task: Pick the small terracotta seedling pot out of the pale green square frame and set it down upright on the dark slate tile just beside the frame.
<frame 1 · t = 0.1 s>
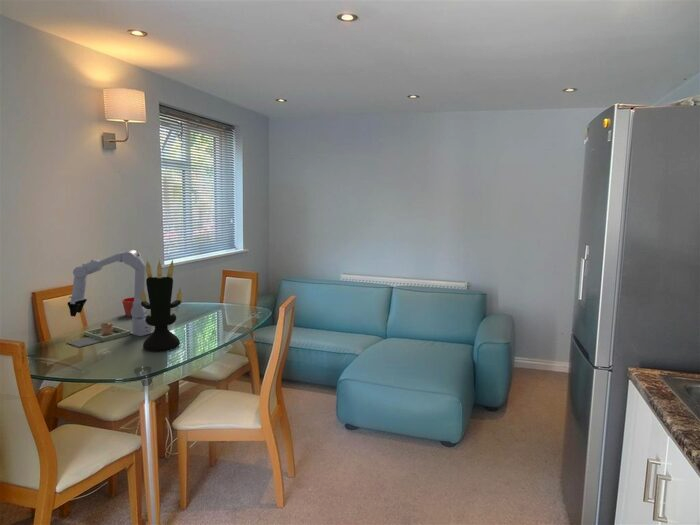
hand: (75, 314, 250), 10 cm above the table, tool pointing down, fingers open, 7 cm apart
flower pot: (132, 315, 291), on the table
candelabra: (162, 348, 234), on the table
seedling pot: (107, 335, 251), resting in pale green square frame
slate tile: (84, 342, 238), on the table
pale green square frame: (107, 334, 251), on the table
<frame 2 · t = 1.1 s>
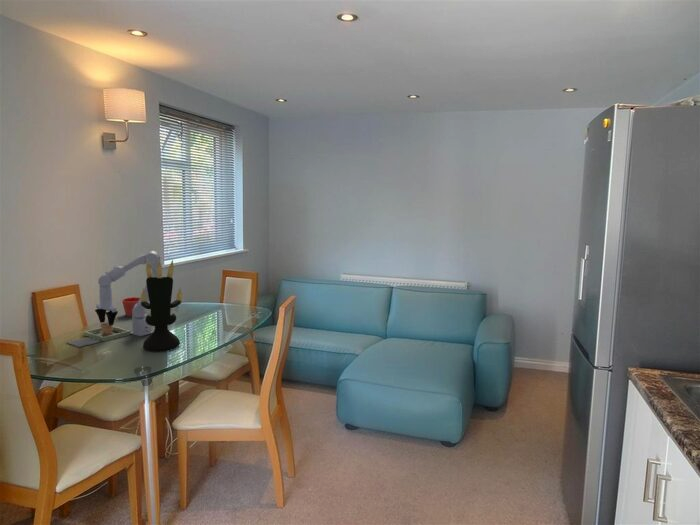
hand: (106, 323, 251), 6 cm above the table, tool pointing down, fingers open, 7 cm apart
nothing on the table moved.
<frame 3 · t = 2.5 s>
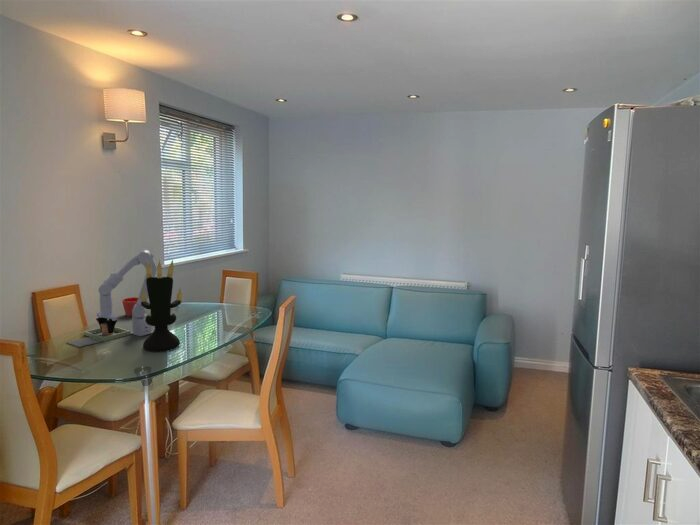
hand: (107, 331, 251), 2 cm above the table, tool pointing down, fingers closed on seedling pot, 6 cm apart
seedling pot: (107, 334, 251), resting in pale green square frame, touching gripper
everything else where it was.
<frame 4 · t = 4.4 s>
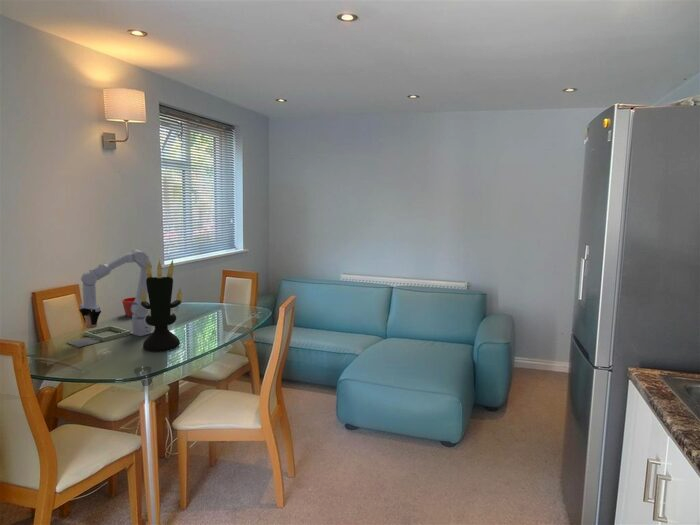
hand: (90, 323, 241), 9 cm above the table, tool pointing down, fingers closed on seedling pot, 6 cm apart
seedling pot: (91, 326, 242), point 7 cm above the table, touching gripper
everything else where it was.
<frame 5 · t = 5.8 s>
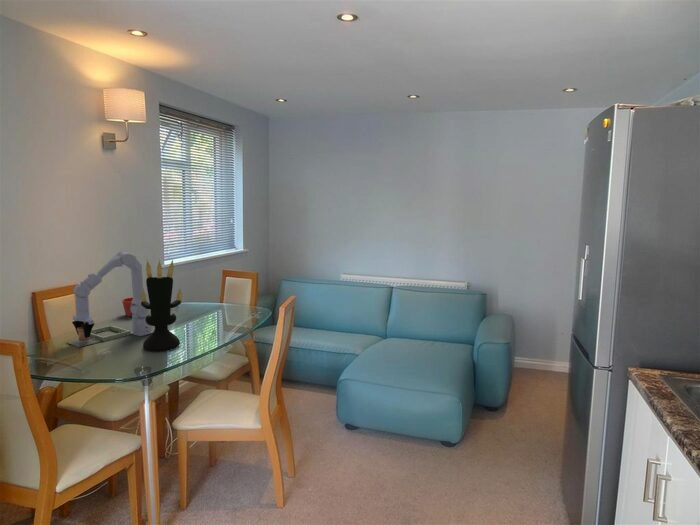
hand: (83, 336, 238), 3 cm above the table, tool pointing down, fingers closed on seedling pot, 6 cm apart
seedling pot: (84, 339, 238), point 2 cm above the table, touching gripper
everything else where it was.
when the fingers open (3 cm above the table, at t = 6.7 s): seedling pot drops 1 cm, resting on slate tile.
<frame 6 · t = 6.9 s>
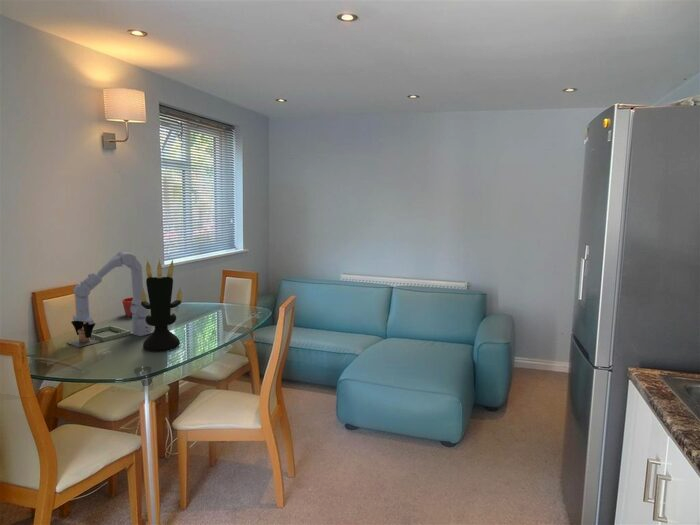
hand: (83, 336, 238), 3 cm above the table, tool pointing down, fingers open, 7 cm apart
seedling pot: (84, 341, 238), point 1 cm above the table, touching slate tile
everything else where it was.
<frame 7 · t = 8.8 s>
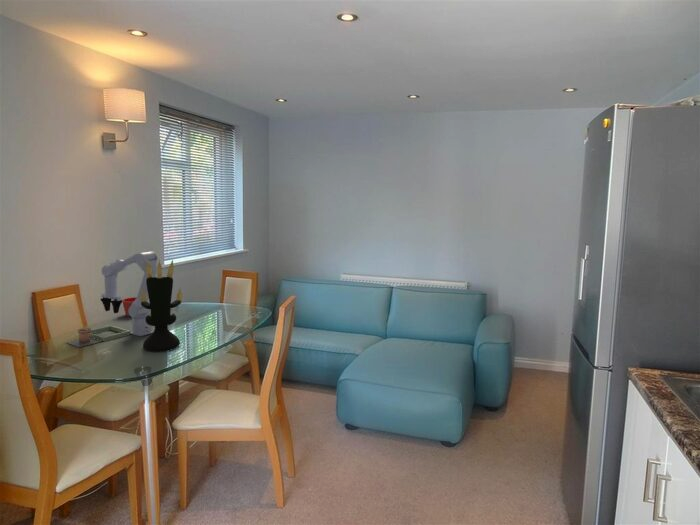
hand: (111, 311, 261), 9 cm above the table, tool pointing down, fingers open, 7 cm apart
nothing on the table moved.
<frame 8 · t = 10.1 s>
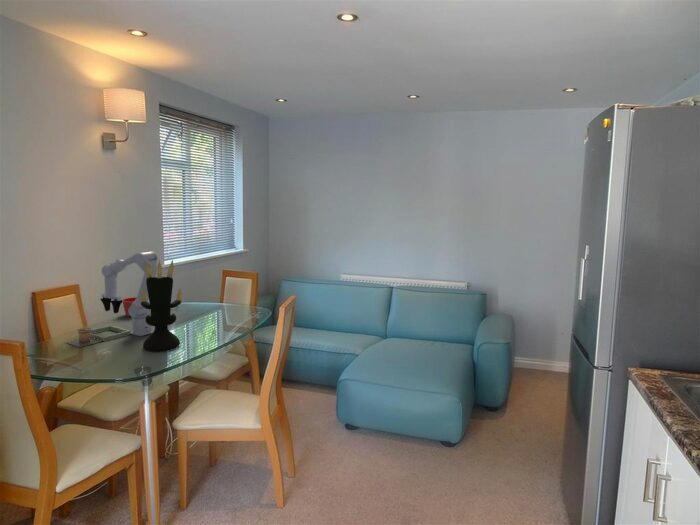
hand: (111, 311, 261), 9 cm above the table, tool pointing down, fingers open, 7 cm apart
nothing on the table moved.
at the end: seedling pot inside the target area on the slate tile (0.4 cm from its centre), point 0.6 cm above the slate tile's base; seedling pot tilted 2°; the gripper is holding nothing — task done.
